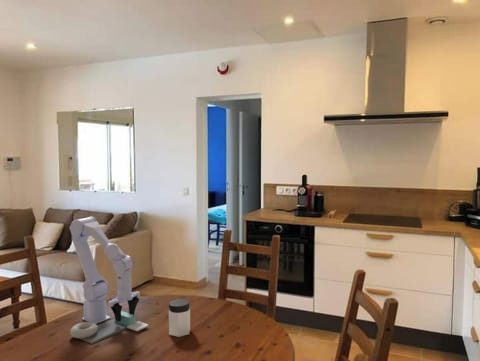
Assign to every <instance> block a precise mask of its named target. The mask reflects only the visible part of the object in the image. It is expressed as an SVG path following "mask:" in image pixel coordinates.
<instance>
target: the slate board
mask: <svg viewBox="0 0 480 361" xmlns="http://www.w3.org/2000/svg"><path fill="white" fill-rule="evenodd" d="M136 322H138V321H137V320H136ZM96 325H97V326H98V330H97V332H96V333H95V334H94V335H92V336H90V337H87V338H78V339H79V340H81V341H83V342H86V343H88V344H90V345H93V344H95V343H99V342H100V341H102V340H104V339H106V338H109V337H112V336H113V335H116V334H118V333H120V332H123V331H124V330H127V329H128V328H127V325H125V324H122V323H119V322H117V321H115V318H112V319H110V320H106V321H105V322H103V323H102V322H101V324H96Z"/></svg>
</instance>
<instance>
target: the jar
mask: <svg viewBox="0 0 480 361" xmlns="http://www.w3.org/2000/svg"><path fill="white" fill-rule="evenodd" d="M190 303H191V302H190V300H188V299H184V298H176V299H173V300H170V301H169V303H168V309H169V310H168V334H169V335H170V336H174V337H178V338H179V337H184V336H187V335H190V332H191V304H190Z"/></svg>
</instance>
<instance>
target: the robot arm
mask: <svg viewBox="0 0 480 361" xmlns="http://www.w3.org/2000/svg"><path fill="white" fill-rule="evenodd" d="M69 231H70V234H71V239H72V240H71V241H72V243H73V246H74V249H75V252H76V255H77V258H78V261H79V263H80V266H81V269H82V273H83V276H84V278H85V280H84V282H83V284H82V289H83V297H84V301H83V317H82V318H81V319H82V320H84V322H93V323H95V324H96V325H98V324H99V323H102V322H104V321H105V322H106V321H108V320H109V319H110V320H111V318H112V317H111V316H110V315H107V304H108V307H109V308H110V310H111V311H112V313H113V315H115V316H114V319H115V318H116V321H118V322H120V321H121V311H123V305H120V304H121V303H124V302H126V301H127V305H128V313H129V314H132V315H135V312H136V309H137V305H138V304H139V301H140V298H139V297H141V294H140V293H141V291H138V290H136V291H132V269H133V267H134V265H135V262H134V259H133V257H132V256H130V255H128V254H125V253H124V251H123V250H122V249H121V248H120V247H119V245H118V244H116V243H113V242H111V241H110V240H109V238H108V237H107V236H106V234H105V233H104V232H103V230H102V229H101V228H100V223H99V221H97V219H96V217H94V216H88V217H84V218H79V219H74V220H72V222H71V223H70V225H69ZM90 237H92V238H94V240H95V242H97V243H98V244H99V245H100V246H101V247H102V248H103V253H104V255H105V256H106V258H108V260H110V261H111V263H112V264H113V265H112V267H113V270H114V271H115V276H116V294H117V295H116V297H114V298H112V299H110V300H107V296H108V293H110V285H109V282H107V280H106V279H105V277H104V276H102V275H101V274H100V273H99V271H98V268H97V265H96V263H95V260H94V257H93V256H94V255H92V254H93V253H92V251H91V248H90V245H89V243H88V240H89V238H90ZM106 300H107V301H106ZM107 302H108V303H107Z"/></svg>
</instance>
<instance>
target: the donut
mask: <svg viewBox="0 0 480 361" xmlns="http://www.w3.org/2000/svg"><path fill="white" fill-rule="evenodd" d="M97 325H98V324H95V323H93V322H88V321H83V322H79V323H77V324H75V325H74V326H72V327H71V329H70V332H69V333H70V335H71V337H73V338H75V339H79V338H87V337H90V336H92V335H94V334H95V333H96V332H97V330H98V326H97Z"/></svg>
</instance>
